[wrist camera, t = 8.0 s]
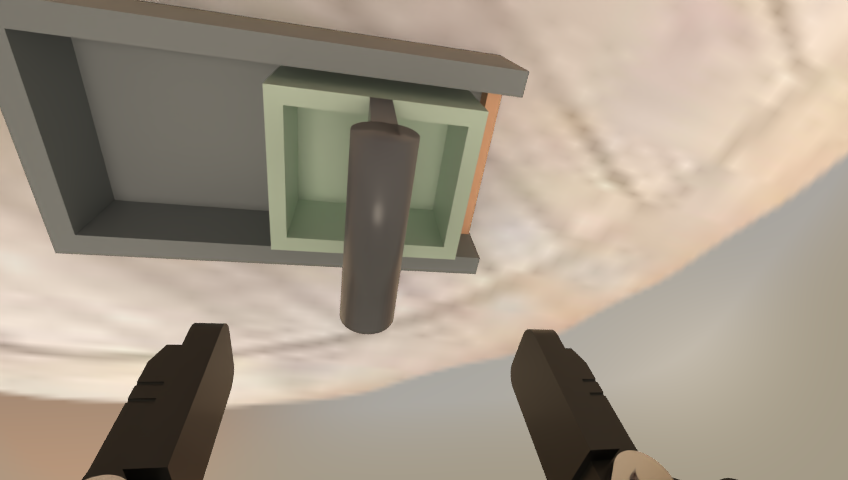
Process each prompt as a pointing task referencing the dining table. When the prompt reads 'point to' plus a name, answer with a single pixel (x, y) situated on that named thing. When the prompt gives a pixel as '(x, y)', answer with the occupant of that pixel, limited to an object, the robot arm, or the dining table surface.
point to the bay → (188, 122)
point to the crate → (368, 176)
